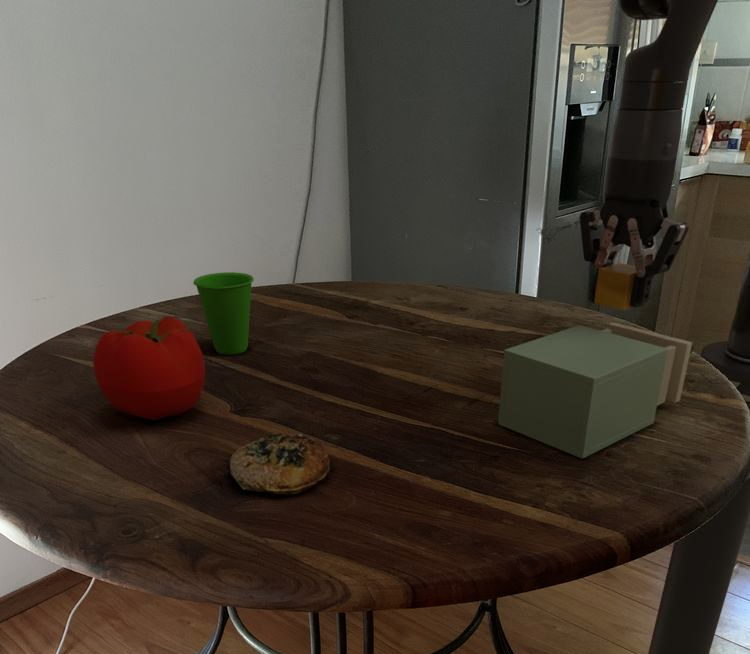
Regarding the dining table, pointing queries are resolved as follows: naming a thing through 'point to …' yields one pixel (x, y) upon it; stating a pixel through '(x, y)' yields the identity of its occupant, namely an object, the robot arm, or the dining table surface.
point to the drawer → (674, 360)
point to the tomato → (150, 368)
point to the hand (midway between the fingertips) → (619, 301)
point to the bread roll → (280, 464)
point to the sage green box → (580, 388)
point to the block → (615, 286)
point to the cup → (226, 309)
